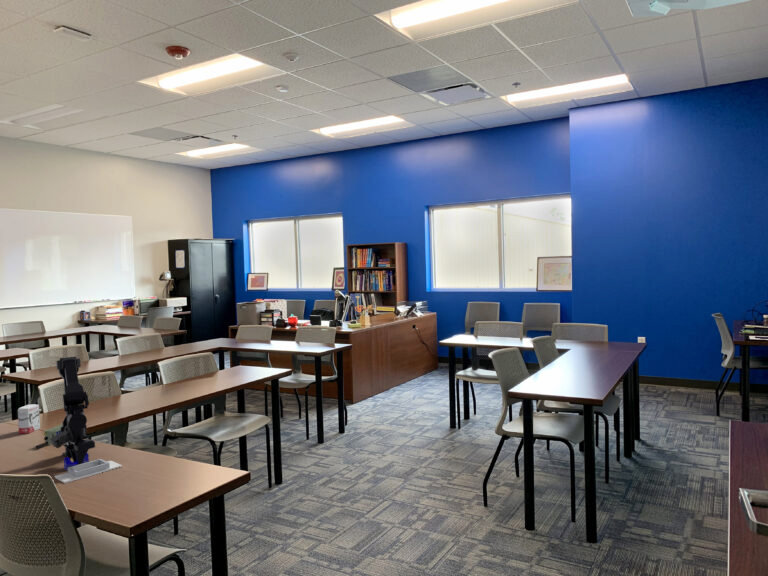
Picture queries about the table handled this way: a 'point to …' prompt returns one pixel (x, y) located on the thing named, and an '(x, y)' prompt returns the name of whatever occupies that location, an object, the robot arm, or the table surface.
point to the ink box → (28, 418)
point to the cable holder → (69, 464)
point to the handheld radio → (50, 435)
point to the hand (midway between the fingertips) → (77, 463)
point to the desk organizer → (87, 470)
